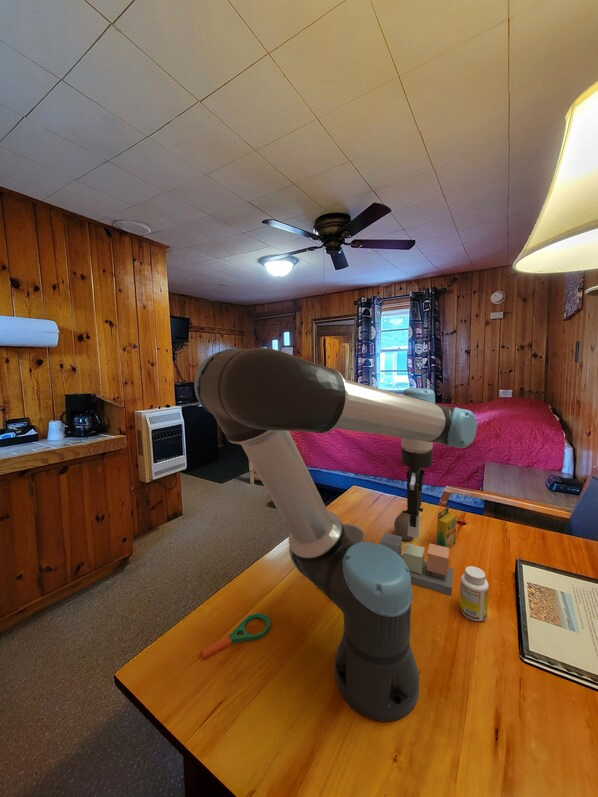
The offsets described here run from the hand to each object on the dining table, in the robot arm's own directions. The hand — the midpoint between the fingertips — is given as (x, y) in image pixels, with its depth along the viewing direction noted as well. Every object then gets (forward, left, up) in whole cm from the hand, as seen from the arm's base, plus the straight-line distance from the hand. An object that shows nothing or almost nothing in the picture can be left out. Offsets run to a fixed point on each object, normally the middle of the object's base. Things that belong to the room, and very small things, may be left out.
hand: (413, 535), depth 85 cm
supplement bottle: (-7, -14, -11) cm, 20 cm away
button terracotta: (0, -6, -7) cm, 10 cm away
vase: (+17, +5, -12) cm, 21 cm away
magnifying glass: (-36, +30, -12) cm, 49 cm away
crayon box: (+17, -7, -12) cm, 22 cm away
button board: (0, 0, -11) cm, 11 cm away
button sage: (0, 0, -9) cm, 9 cm away
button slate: (0, +6, -7) cm, 9 cm away
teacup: (-2, +20, -12) cm, 23 cm away
